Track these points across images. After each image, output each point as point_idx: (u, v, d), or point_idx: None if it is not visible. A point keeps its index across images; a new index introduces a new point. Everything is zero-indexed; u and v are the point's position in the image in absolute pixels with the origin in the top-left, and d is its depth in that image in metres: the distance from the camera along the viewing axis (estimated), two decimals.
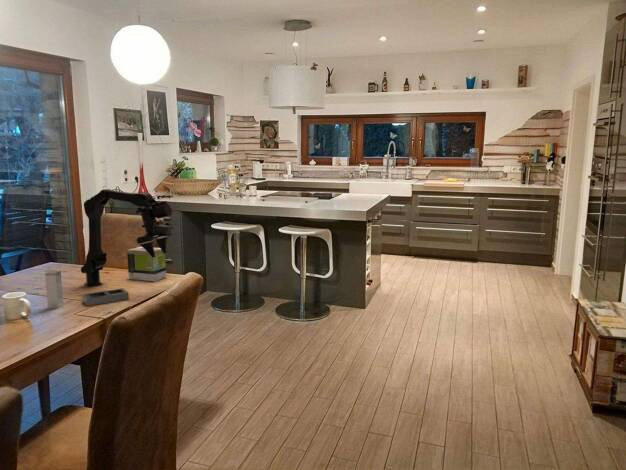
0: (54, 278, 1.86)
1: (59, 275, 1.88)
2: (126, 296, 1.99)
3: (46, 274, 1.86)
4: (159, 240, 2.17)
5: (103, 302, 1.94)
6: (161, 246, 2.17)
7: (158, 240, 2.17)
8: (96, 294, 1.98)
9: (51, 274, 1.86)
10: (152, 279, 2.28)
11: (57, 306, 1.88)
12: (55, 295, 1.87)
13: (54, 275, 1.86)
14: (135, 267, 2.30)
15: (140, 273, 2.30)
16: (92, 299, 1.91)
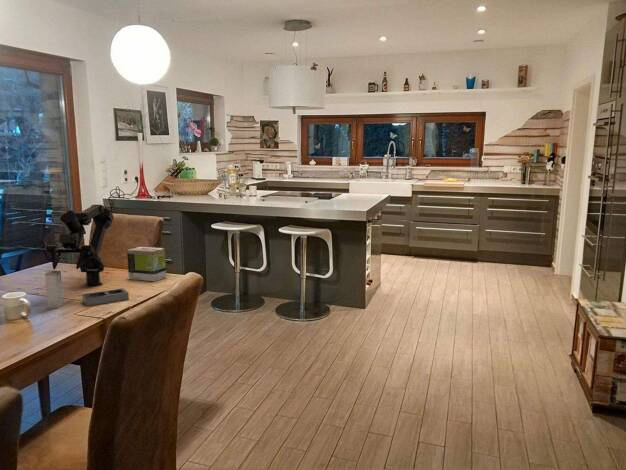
0: (54, 278, 1.86)
1: (59, 275, 1.88)
2: (126, 296, 1.99)
3: (46, 274, 1.86)
4: None
5: (103, 302, 1.94)
6: None
7: None
8: (96, 294, 1.98)
9: (51, 274, 1.86)
10: (152, 279, 2.28)
11: (57, 306, 1.88)
12: (55, 295, 1.87)
13: (54, 275, 1.86)
14: (135, 267, 2.30)
15: (140, 273, 2.30)
16: (92, 299, 1.91)
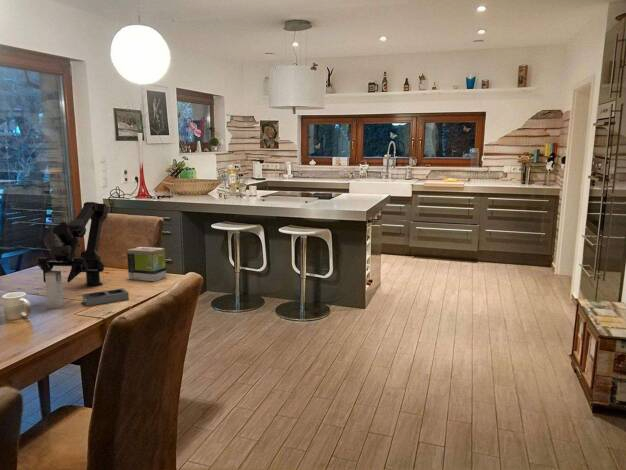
0: (54, 278, 1.86)
1: (59, 275, 1.88)
2: (126, 296, 1.99)
3: (46, 274, 1.86)
4: None
5: (103, 302, 1.94)
6: None
7: None
8: (96, 294, 1.98)
9: (51, 274, 1.86)
10: (152, 279, 2.28)
11: (57, 306, 1.88)
12: (55, 295, 1.87)
13: (54, 275, 1.86)
14: (135, 267, 2.30)
15: (140, 273, 2.30)
16: (92, 299, 1.91)
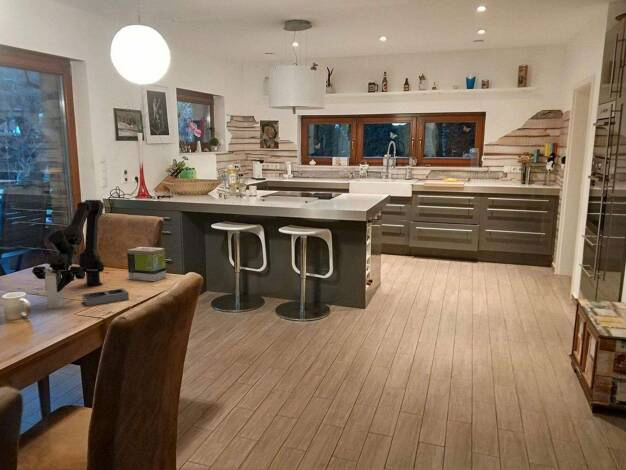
0: (54, 278, 1.86)
1: (59, 275, 1.88)
2: (126, 296, 1.99)
3: (46, 274, 1.86)
4: None
5: (103, 302, 1.94)
6: None
7: None
8: (96, 294, 1.98)
9: (51, 274, 1.86)
10: (152, 279, 2.28)
11: (57, 306, 1.88)
12: (55, 295, 1.87)
13: (54, 275, 1.86)
14: (135, 267, 2.30)
15: (140, 273, 2.30)
16: (92, 299, 1.91)
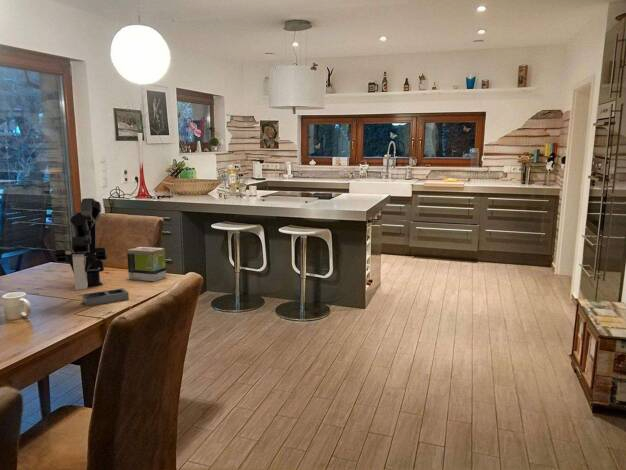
0: (82, 259, 1.89)
1: (84, 256, 1.91)
2: (126, 296, 1.99)
3: (74, 255, 1.87)
4: None
5: (103, 302, 1.94)
6: None
7: None
8: (96, 294, 1.98)
9: (79, 255, 1.88)
10: (152, 279, 2.28)
11: (85, 287, 1.91)
12: (83, 276, 1.90)
13: (82, 256, 1.88)
14: (135, 267, 2.30)
15: (140, 273, 2.30)
16: (92, 299, 1.91)
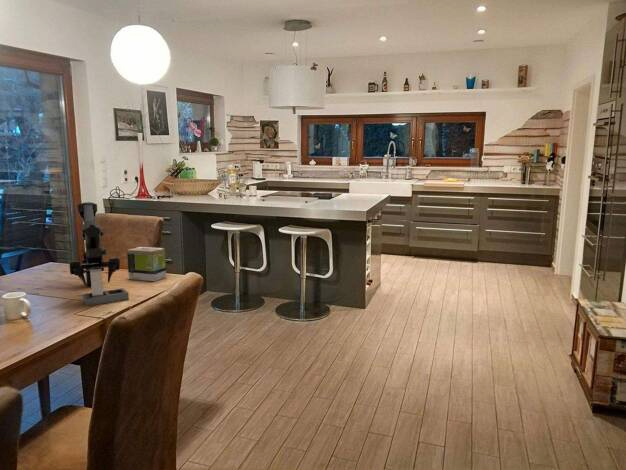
0: (100, 274, 1.93)
1: None
2: (126, 296, 1.99)
3: (92, 271, 1.92)
4: None
5: (103, 302, 1.94)
6: None
7: None
8: None
9: (97, 270, 1.92)
10: (152, 279, 2.28)
11: None
12: (101, 290, 1.94)
13: (100, 271, 1.93)
14: (135, 267, 2.30)
15: (140, 273, 2.30)
16: (92, 299, 1.91)
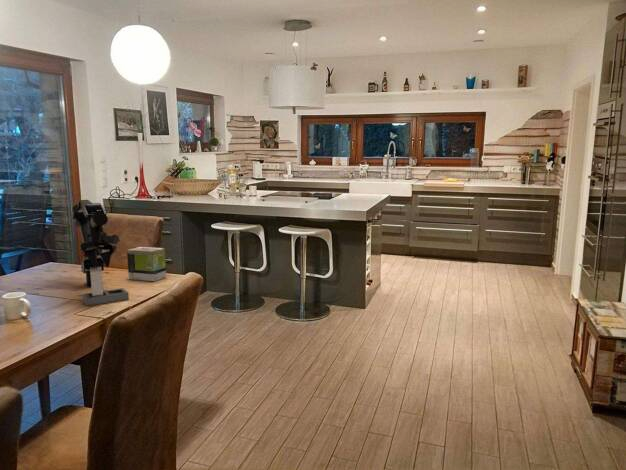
0: (100, 274, 1.93)
1: None
2: (126, 296, 1.99)
3: (92, 270, 1.92)
4: (103, 254, 2.12)
5: (103, 302, 1.94)
6: (105, 260, 2.11)
7: (102, 254, 2.12)
8: None
9: (97, 270, 1.92)
10: (152, 279, 2.28)
11: None
12: (101, 290, 1.94)
13: (100, 271, 1.93)
14: (135, 267, 2.30)
15: (140, 273, 2.30)
16: (92, 299, 1.91)
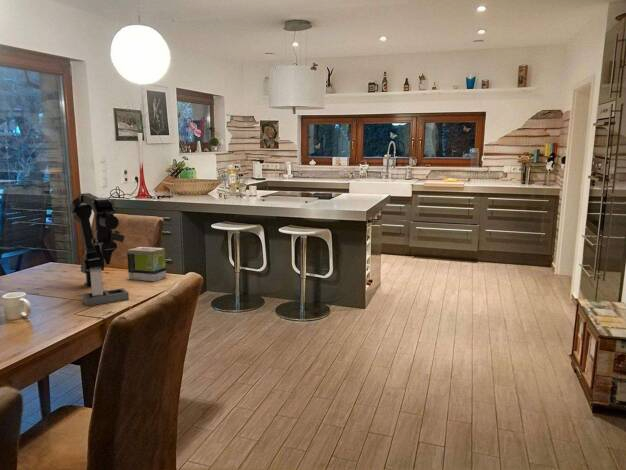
0: (100, 274, 1.93)
1: None
2: (126, 296, 1.99)
3: (92, 270, 1.92)
4: (98, 247, 2.12)
5: (103, 302, 1.94)
6: (100, 253, 2.12)
7: (97, 246, 2.11)
8: None
9: (97, 270, 1.92)
10: (152, 279, 2.28)
11: None
12: (101, 290, 1.94)
13: (100, 271, 1.93)
14: (135, 267, 2.30)
15: (140, 273, 2.30)
16: (92, 299, 1.91)
